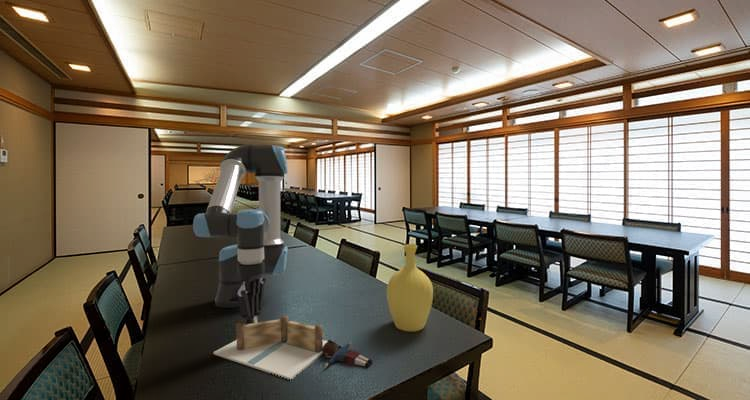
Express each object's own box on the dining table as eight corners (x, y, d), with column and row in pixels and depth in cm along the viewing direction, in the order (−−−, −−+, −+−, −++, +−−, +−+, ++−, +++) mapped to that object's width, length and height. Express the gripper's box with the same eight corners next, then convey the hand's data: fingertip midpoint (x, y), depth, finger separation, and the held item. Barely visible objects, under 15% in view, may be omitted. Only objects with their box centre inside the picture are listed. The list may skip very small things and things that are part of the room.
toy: (380, 357, 95) (336, 343, 101) (381, 342, 95) (337, 328, 101) (358, 384, 82) (309, 366, 88) (359, 366, 82) (310, 349, 88)
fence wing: (287, 337, 102) (287, 314, 101) (289, 340, 100) (288, 317, 99) (236, 346, 96) (236, 322, 95) (236, 350, 94) (236, 325, 93)
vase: (427, 339, 104) (429, 251, 102) (380, 330, 109) (380, 248, 108) (436, 319, 119) (437, 243, 117) (394, 312, 124) (394, 240, 123)
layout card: (213, 354, 94) (213, 351, 94) (264, 326, 112) (264, 324, 112) (290, 380, 82) (290, 377, 82) (334, 344, 100) (334, 342, 100)
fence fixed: (286, 343, 98) (286, 320, 98) (291, 340, 100) (291, 317, 100) (319, 352, 93) (319, 328, 93) (324, 349, 95) (324, 325, 95)
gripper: (251, 255, 105) (252, 326, 106) (226, 266, 92) (227, 346, 94) (273, 256, 104) (273, 329, 105) (250, 267, 91) (251, 349, 92)
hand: (252, 337), depth 99 cm, fingers closed
